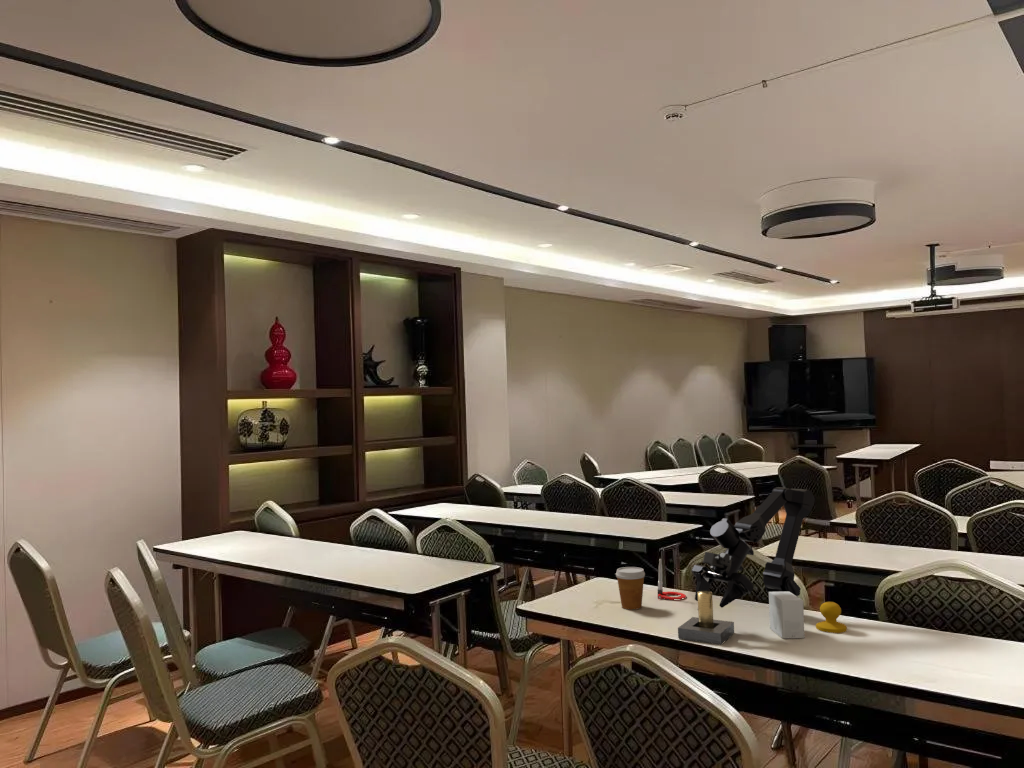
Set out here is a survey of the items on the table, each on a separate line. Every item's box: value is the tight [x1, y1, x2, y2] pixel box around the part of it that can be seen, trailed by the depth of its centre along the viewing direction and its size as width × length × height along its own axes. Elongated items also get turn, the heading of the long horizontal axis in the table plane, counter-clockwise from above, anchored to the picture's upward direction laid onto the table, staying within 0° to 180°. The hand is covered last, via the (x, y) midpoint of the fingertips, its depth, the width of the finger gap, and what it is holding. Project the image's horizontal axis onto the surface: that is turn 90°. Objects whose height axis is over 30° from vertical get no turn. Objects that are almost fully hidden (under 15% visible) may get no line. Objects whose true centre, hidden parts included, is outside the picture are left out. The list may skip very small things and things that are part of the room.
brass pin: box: [697, 590, 714, 629], centre depth 212 cm, size 4×4×12 cm
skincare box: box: [768, 592, 805, 640], centre depth 212 cm, size 10×6×10 cm, turn 0°
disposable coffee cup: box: [615, 566, 646, 611], centre depth 245 cm, size 10×10×12 cm
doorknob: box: [815, 601, 848, 634], centre depth 214 cm, size 8×8×8 cm
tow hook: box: [657, 558, 687, 601], centre depth 255 cm, size 8×13×9 cm
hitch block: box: [677, 616, 735, 646], centre depth 212 cm, size 12×12×3 cm
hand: (708, 603), depth 213 cm, fingers open, 9 cm apart
